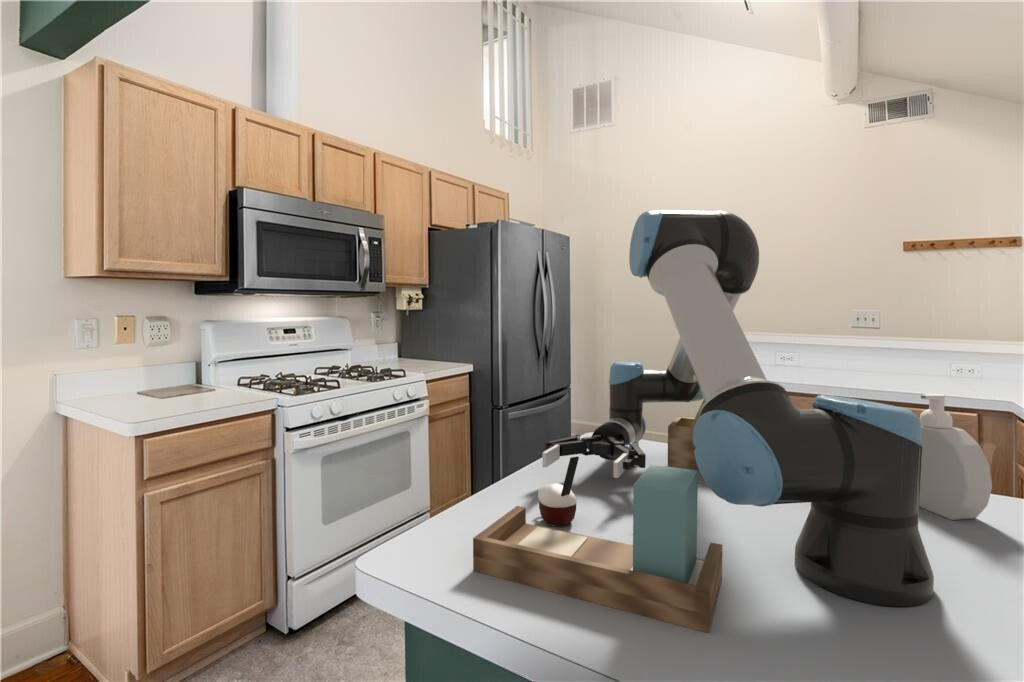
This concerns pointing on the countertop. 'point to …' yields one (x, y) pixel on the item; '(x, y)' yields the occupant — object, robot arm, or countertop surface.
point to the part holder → (681, 444)
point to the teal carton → (665, 522)
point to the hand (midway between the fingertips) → (578, 465)
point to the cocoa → (559, 499)
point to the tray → (596, 571)
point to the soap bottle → (951, 466)
